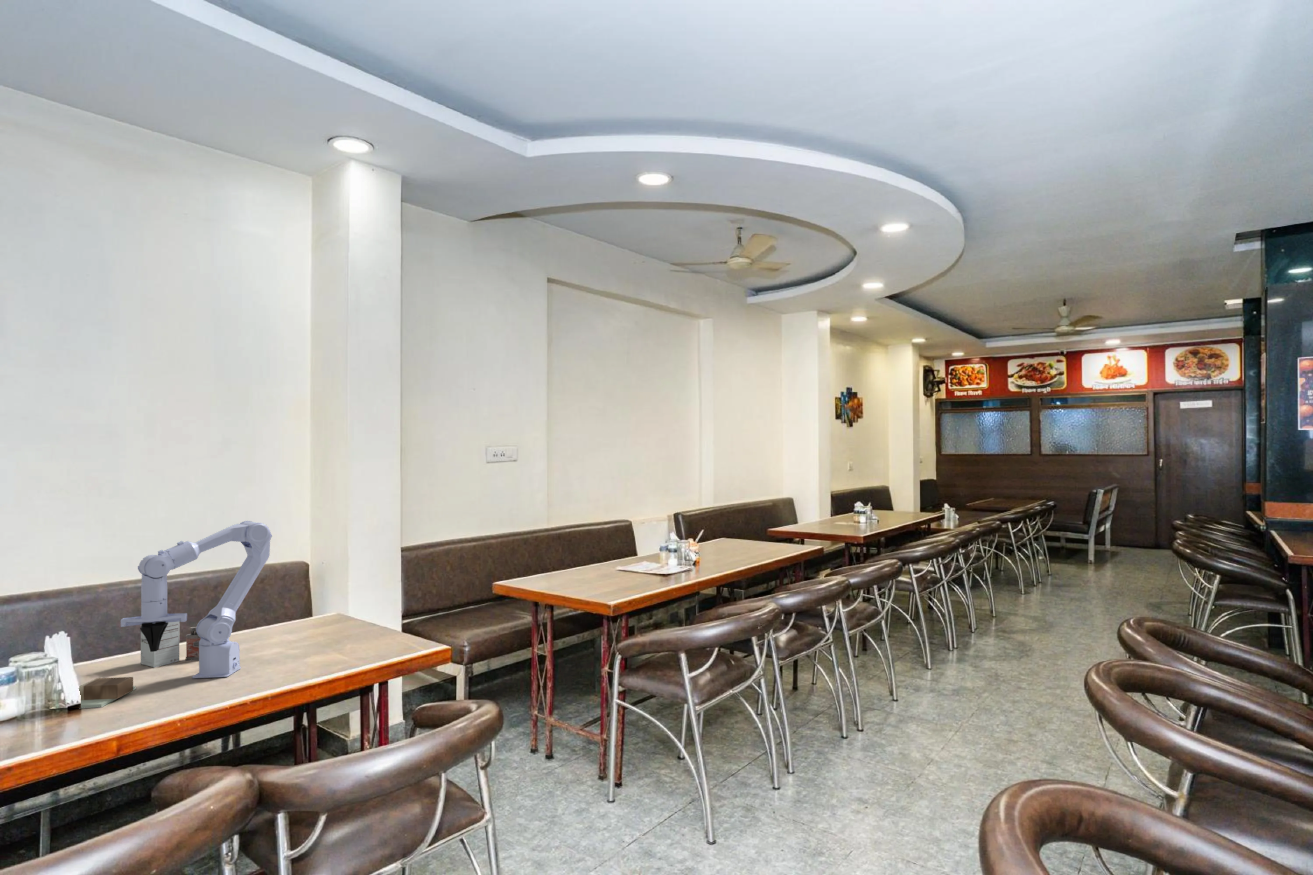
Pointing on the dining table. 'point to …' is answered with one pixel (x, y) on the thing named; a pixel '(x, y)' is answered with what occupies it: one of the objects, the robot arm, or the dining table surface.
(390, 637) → the dining table surface
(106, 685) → the walnut block
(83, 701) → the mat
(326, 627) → the dining table surface
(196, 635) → the small bottle
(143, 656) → the supplement box
